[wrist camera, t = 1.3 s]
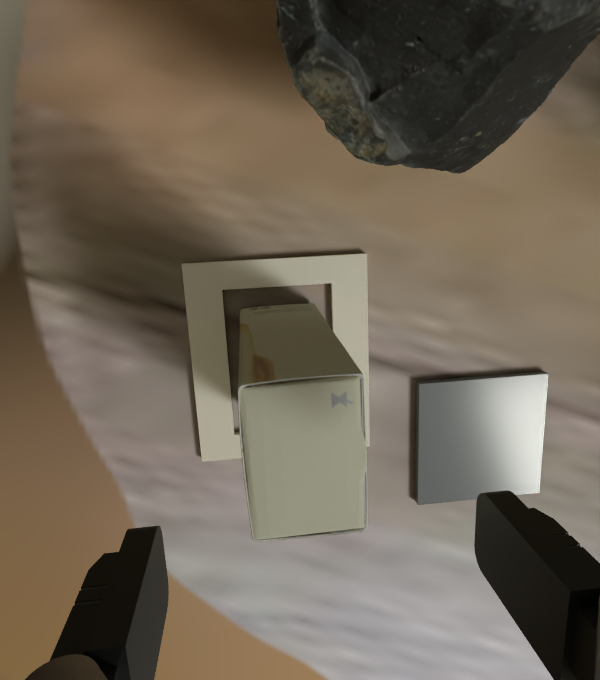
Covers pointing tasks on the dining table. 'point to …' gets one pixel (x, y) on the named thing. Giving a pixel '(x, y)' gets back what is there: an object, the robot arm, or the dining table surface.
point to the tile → (479, 436)
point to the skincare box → (300, 426)
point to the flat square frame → (210, 328)
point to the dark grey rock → (430, 71)
